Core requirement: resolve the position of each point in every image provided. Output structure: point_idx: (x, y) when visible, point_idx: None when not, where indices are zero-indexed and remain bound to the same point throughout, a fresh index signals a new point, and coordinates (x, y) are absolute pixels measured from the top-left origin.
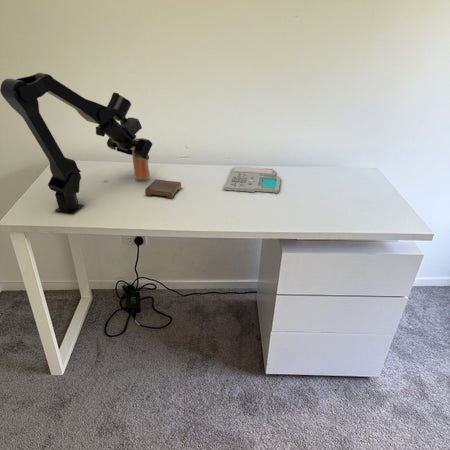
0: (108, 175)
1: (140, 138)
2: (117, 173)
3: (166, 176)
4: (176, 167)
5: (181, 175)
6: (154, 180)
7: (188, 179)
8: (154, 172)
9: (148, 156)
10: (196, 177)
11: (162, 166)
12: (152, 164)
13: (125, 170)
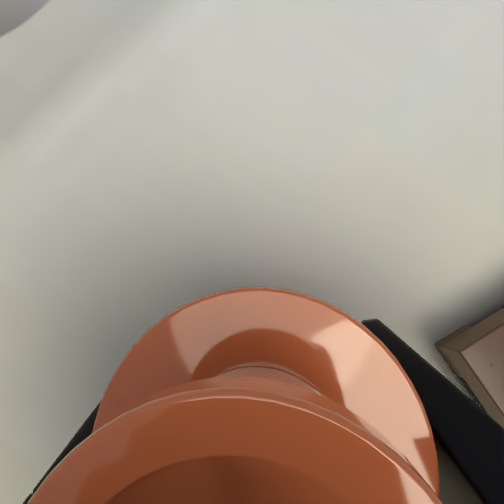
0: (17, 487)
1: (120, 424)
2: (32, 409)
3: (323, 176)
4: (228, 28)
5: (377, 88)
6: (479, 376)
7: (473, 96)
8: (202, 194)
9: (401, 343)
10: (476, 34)
11: (147, 87)
12: (69, 115)
13: (26, 327)
